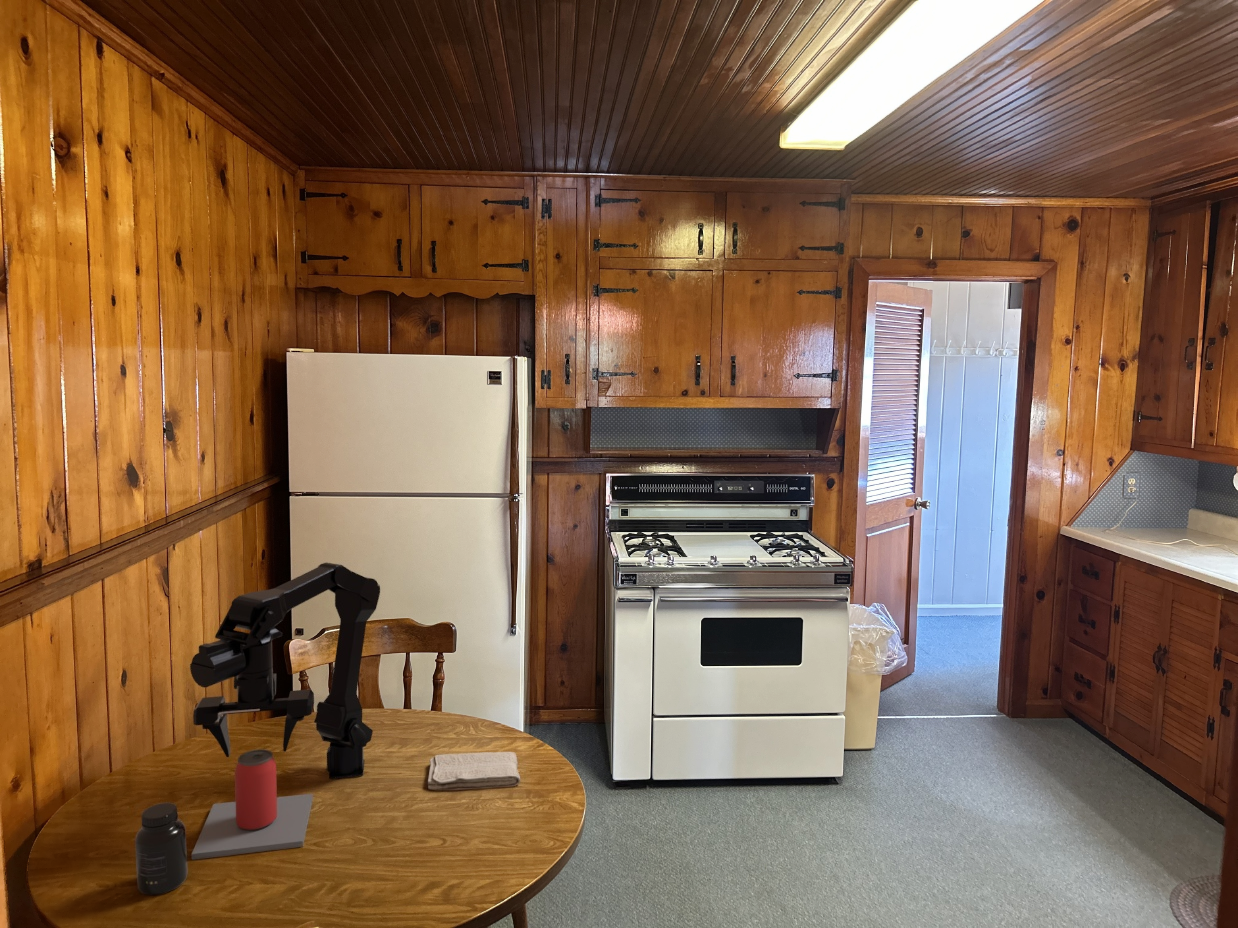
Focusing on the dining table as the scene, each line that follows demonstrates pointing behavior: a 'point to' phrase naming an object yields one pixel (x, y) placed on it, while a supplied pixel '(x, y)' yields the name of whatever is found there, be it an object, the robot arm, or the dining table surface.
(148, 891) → the supplement bottle
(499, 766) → the washcloth
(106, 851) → the dining table surface
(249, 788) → the beer can
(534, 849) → the dining table surface
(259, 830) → the slate board
